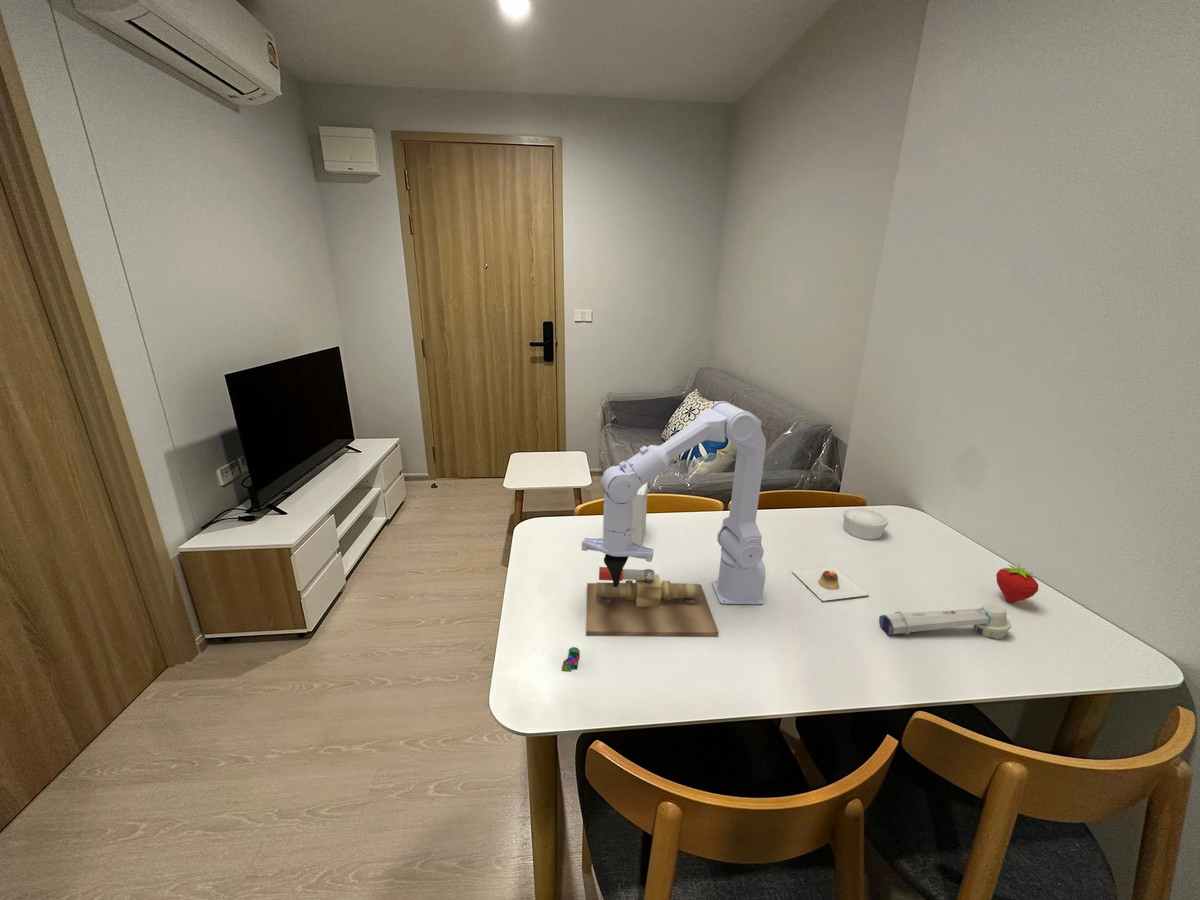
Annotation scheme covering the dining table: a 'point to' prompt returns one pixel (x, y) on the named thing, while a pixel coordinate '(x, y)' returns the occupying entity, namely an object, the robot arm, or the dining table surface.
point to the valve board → (648, 609)
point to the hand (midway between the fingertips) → (616, 584)
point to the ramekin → (864, 523)
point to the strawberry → (1016, 584)
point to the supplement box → (639, 515)
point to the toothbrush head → (949, 621)
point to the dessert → (830, 580)
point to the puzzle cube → (571, 660)
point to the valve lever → (628, 574)
